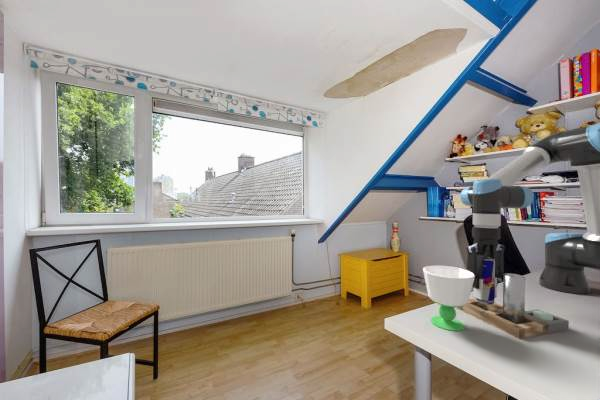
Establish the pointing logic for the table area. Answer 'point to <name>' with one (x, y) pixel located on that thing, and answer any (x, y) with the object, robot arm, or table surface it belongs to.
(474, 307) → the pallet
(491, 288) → the beverage can
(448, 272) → the cup
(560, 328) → the button housing
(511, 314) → the billet
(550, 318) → the button
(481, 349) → the table surface
